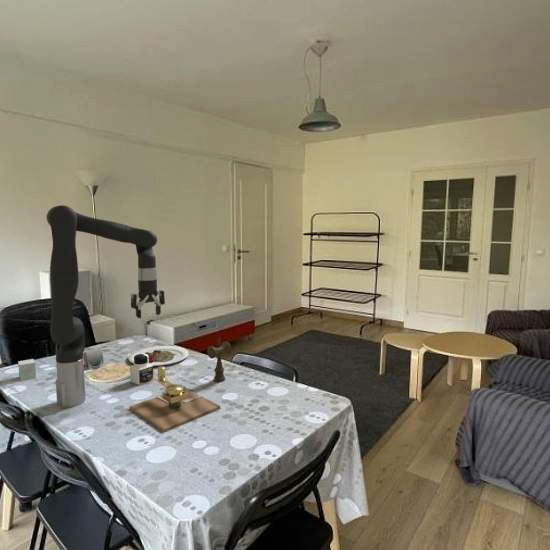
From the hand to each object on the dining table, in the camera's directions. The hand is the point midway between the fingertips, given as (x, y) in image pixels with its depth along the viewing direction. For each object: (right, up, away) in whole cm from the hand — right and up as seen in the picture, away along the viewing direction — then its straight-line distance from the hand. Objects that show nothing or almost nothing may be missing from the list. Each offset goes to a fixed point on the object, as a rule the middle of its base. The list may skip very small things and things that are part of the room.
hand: (148, 316), depth 166 cm
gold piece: (+13, -28, -16) cm, 35 cm away
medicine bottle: (-5, -30, +7) cm, 31 cm away
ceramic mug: (-35, -27, +26) cm, 51 cm away
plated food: (-7, -26, +38) cm, 46 cm away
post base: (+16, -33, -18) cm, 41 cm away
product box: (-58, -29, +10) cm, 65 cm away
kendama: (+29, -30, +10) cm, 42 cm away
